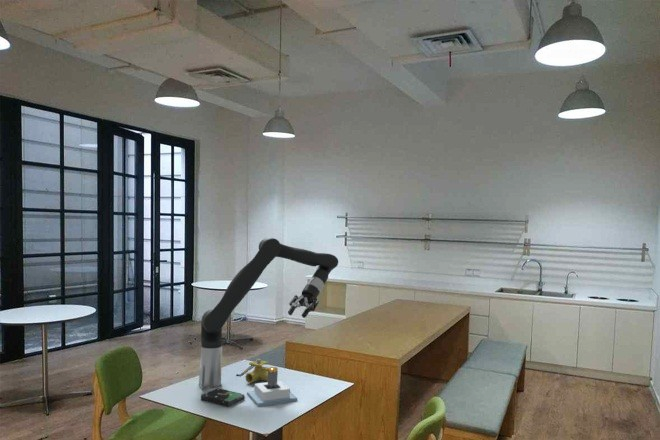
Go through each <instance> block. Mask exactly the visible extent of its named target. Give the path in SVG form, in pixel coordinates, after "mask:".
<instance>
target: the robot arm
mask: <svg viewBox="0 0 660 440" xmlns="http://www.w3.org/2000/svg"><path fill="white" fill-rule="evenodd" d="M275 258H283V259H284V260H285V259H286V260H289V261H294V262H296V263H298V264H299V263H300V264H302V265H307V266H311V267H316V270H315V272H314V273H313V275H312V276H311V277H310V279H309V280H308V281H307V283H306V285H305V286H304V288H303V289H302V291H301V295H300V296H298V295H297V294H295V295H294V296H293V298H292V299H291V301H290V302H289V303H288V305H289V306H290V307H289V310H288V312H287V313H288V315H289V316H292V315H293V313H294V312H295V310H296V309H297V308H301V307H305V309H304V310H303V312H302V313H301V317H302V318H303V319H305V318H307V316H308V315H309V313H310V312H315V310H316V308H317V306H318V305H319V302H320V301H319V299H318V296H320V294H321V292H322V290H323V288H324V285H325V284H326V282H327V281H328V279H329V275H330V273H331V272H332V271H333V270H334V269H335V268H337V266H338V265H339V259H338V258H337V257H336V255H334V254H331V253H326V252H325V253H324V252H315V251H311V250H307V249H304V248H298V247H293V246H289V245H285V244H283V243H280V241H279V240H278V239H277V238H273V237H265V238H263V239H262V240H261V241H260V242H259V243H258V251H257V253H255V255H254V257H252V259H251V260H250V261H249V262H248V263H247V264H246V265H244V267H242V268H241V269H240V270H239V271H238V272H237V273H236V275H235V276H234V277H233V279H232V280H231V281H230V283H229V284H228V286H227V287H226V290H225V292H224V294H223V295H222V297H221V299H220V300H219V302H218V303H217V304H216V306H214V308H213V309H208V310H206V311H205V312H204V313H203V315H202V316H201V321H200V322H201V327H200V328H201V329H200V333H201V334H200V340H201V342H200V343H201V348H200V349H201V350H200V362H199V370H198V372H199V373H198V384H199V385H200V387H201V388H216V387H219V386H220V385H222V368H223V367H222V364H223V363H222V360H223V334H222V333H223V332H222V331H223V327H224V326H225V324H226V322H227V320H228V319H229V318H230V316H231V315H232V313H233V311H234V309H236V307H237V306H239V304H240V303H241V302H242V301H243V299H244V298H245V296H246V295H248V293H249V292H250V290H251V289H252V287H253V286H254V285H255V284H256V282H257V281H258V280H259V278H260V276H261V275H262V273H263V272H264V271H265V269H266V268H267V267H268V265H270V263H271V262H273V260H274V259H275Z"/></svg>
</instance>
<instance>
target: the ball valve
mask: <svg viewBox="0 0 660 440" xmlns="http://www.w3.org/2000/svg"><path fill="white" fill-rule="evenodd" d="M248 364H249V366H251V365H254V367H253V370H252V371H251V372H246V373H245V375H246V376H245V381H246V382H247V383H248V384H252V383H254V382H259V381H264V382H268V368H269V367H268V366H264V365H269V361H265V360H262V359H261V358H257V359H256V360H255V361H252V362H249V363H248Z"/></svg>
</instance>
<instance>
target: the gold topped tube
mask: <svg viewBox="0 0 660 440" xmlns="http://www.w3.org/2000/svg"><path fill="white" fill-rule="evenodd" d="M278 369H279V367H277V366H269V367H268V387H267V389H275V388H277V381H278Z"/></svg>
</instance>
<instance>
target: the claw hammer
mask: <svg viewBox="0 0 660 440" xmlns="http://www.w3.org/2000/svg"><path fill="white" fill-rule="evenodd" d="M252 367H253V368H255V366H254V365H249V366H248V367H247V368H246V369H245V370H244V371H242V372H241V373H240V374H239V373H237V374H235V376H236V377H241V376H243V375H244V374H245V375H246V374H247V373H248V372H249V371H250V370H252ZM248 370H249V371H248Z"/></svg>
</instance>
